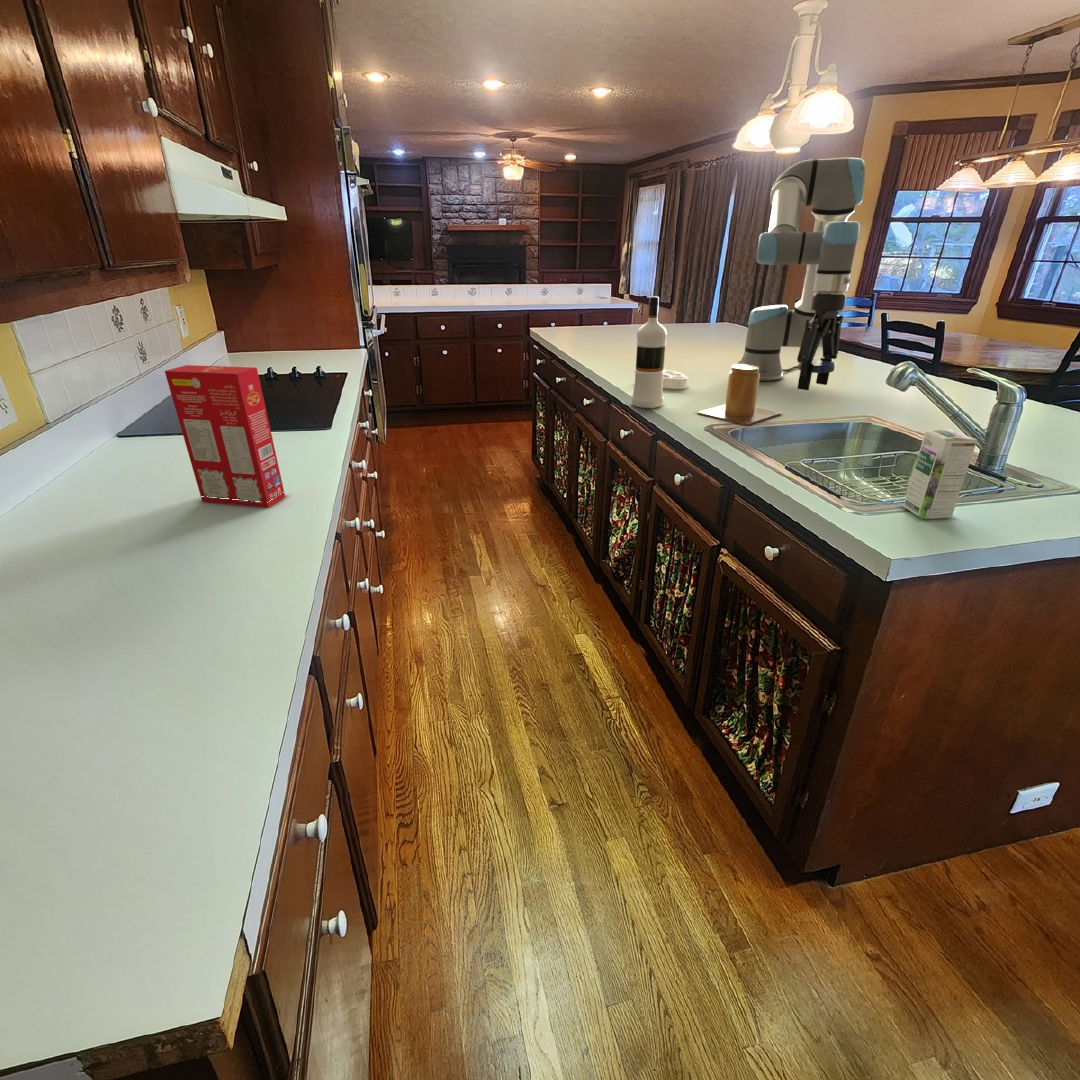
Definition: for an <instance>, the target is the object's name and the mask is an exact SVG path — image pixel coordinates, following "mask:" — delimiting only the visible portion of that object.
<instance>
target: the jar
mask: <svg viewBox="0 0 1080 1080" xmlns="http://www.w3.org/2000/svg"><path fill="white" fill-rule="evenodd" d="M730 368H731V370H729V372H728V380H727V387H726V396H725V404H724V405H725V411H724V412H725V413H726V414H729V415H733V416H751V415H753V414H754V412H755V408H756V405H757V399H758V393H759V391H758V390H759V385H760V381H759V378H760V372H759V367H758V366H755V365H748V364H738V363H737V364H733V365H731V367H730Z"/></svg>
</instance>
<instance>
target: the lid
mask: <svg viewBox="0 0 1080 1080" xmlns="http://www.w3.org/2000/svg"><path fill="white" fill-rule="evenodd" d="M812 364H813V370H812V374H818V373H829V374H830V373H833V372H834V371H835V368H836V362H834V361H832V362H831V361H826V360H820V359H813V361H812ZM801 365H802V363H799V362H798V364H797V366H798V368H797V370H799V371H801Z"/></svg>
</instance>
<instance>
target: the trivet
mask: <svg viewBox="0 0 1080 1080" xmlns="http://www.w3.org/2000/svg"><path fill="white" fill-rule="evenodd" d="M724 411H725V404H722V405H718V406H715V407H711V408H707V409H704V410H700V411H698V412H697V415H701V416H705V417H709V418H713V419H717V420H721V421H726V422H730V423H735V424H738V425H742V426H750V425H754V424H757V423H760V422H762V421H766V420H769V419H772V418H774V417H779V416H781V415H782V413H781V412H779V411H774V410H768V409H763V408H759V407H755V412H754V414H753V415H751V416H733V415H729V414H726V413H725V412H724Z"/></svg>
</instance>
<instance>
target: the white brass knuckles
mask: <svg viewBox="0 0 1080 1080" xmlns="http://www.w3.org/2000/svg"><path fill="white" fill-rule="evenodd" d="M663 370H664V374H663V389H671V390H684V389H685V390H686V389H687V388H688V381H689V377H688V376H686V375H685V374H684V373H682V372H678V371H675V370H670V369H669V370H668V369H665V368H664V369H663Z"/></svg>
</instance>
